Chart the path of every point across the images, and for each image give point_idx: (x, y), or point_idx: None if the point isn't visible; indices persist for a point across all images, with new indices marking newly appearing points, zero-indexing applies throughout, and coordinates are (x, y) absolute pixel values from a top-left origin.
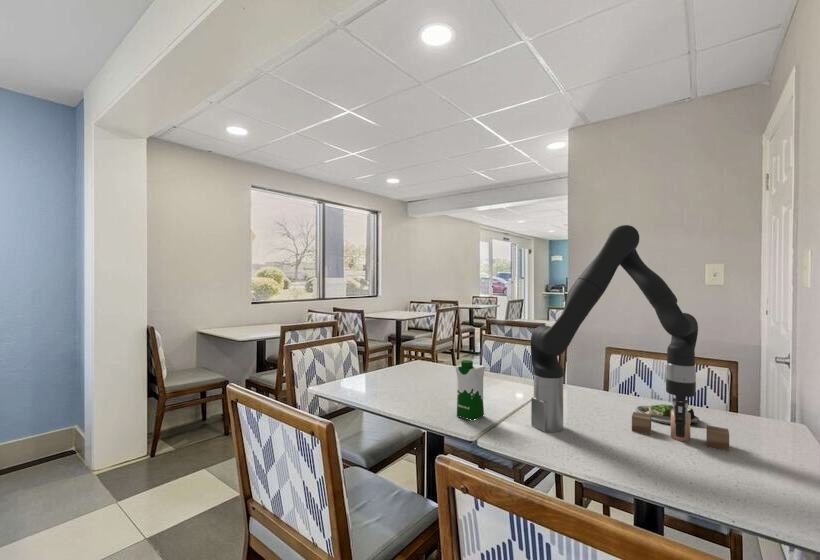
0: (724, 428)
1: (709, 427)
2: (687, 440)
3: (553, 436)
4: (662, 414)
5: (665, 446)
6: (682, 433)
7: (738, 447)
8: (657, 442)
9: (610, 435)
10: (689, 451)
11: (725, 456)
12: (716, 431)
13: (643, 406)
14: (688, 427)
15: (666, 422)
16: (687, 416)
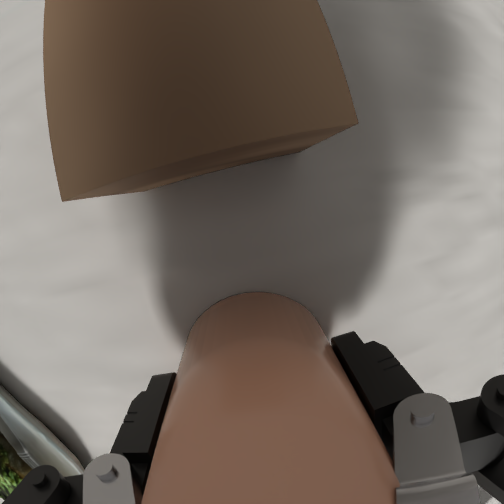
0: (57, 3)
1: (153, 126)
2: (296, 304)
3: (488, 499)
4: None
5: (464, 353)
6: (390, 356)
7: None
8: None
9: None
10: (467, 235)
11: (383, 35)
12: (286, 13)
13: None
14: (316, 368)
15: (70, 454)
16: (386, 500)
